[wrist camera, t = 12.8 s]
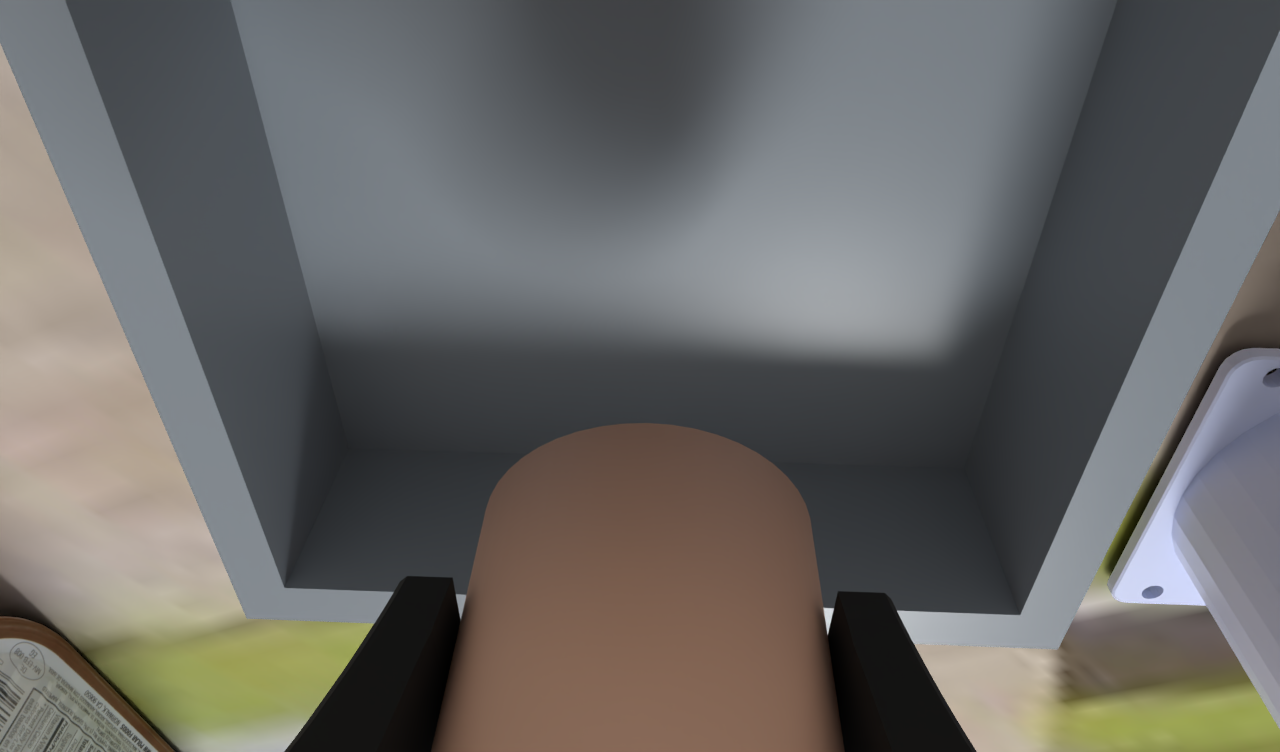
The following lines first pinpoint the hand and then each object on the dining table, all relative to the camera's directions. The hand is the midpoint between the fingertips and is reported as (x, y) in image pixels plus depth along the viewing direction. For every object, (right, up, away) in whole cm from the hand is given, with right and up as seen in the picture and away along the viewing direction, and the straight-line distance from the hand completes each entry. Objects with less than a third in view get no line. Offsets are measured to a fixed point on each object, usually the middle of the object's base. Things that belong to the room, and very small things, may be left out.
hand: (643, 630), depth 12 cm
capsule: (0, +1, +2) cm, 2 cm away
